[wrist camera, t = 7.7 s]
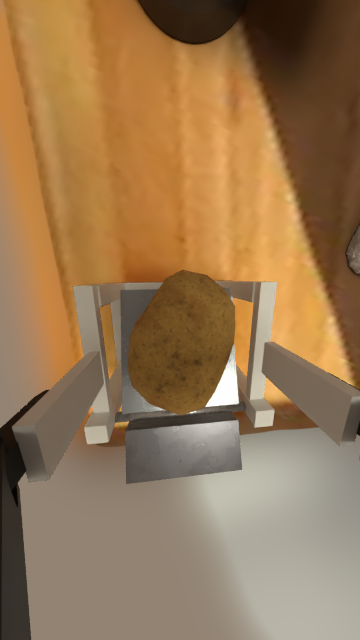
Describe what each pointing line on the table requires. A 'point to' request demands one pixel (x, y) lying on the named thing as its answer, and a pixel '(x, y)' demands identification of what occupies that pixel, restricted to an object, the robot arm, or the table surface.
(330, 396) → the robot arm
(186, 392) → the potato
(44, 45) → the table surface
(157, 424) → the flap
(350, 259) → the stone
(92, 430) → the frame
